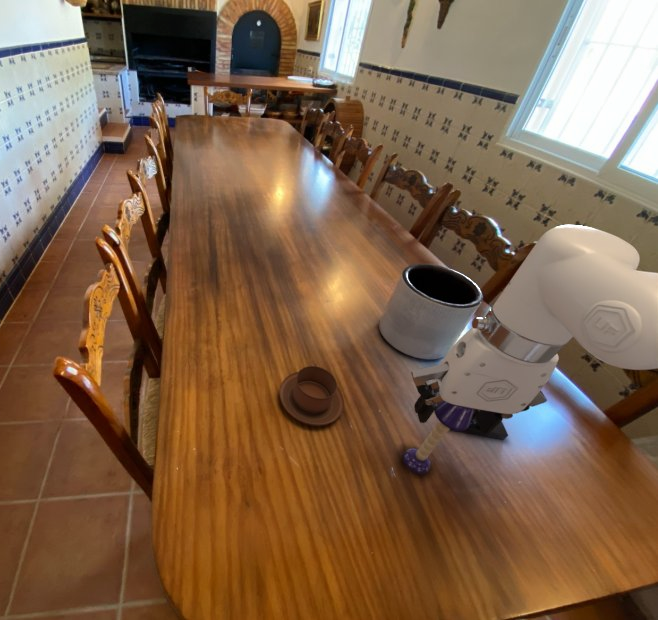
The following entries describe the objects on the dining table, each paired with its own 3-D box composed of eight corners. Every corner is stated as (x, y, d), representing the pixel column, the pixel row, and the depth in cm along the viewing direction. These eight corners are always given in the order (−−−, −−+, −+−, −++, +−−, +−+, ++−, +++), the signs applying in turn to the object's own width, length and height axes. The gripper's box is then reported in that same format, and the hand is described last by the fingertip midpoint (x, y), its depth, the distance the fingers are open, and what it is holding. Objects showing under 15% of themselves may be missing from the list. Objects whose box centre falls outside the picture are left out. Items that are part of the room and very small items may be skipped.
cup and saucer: (272, 378, 71) (277, 357, 67) (330, 376, 73) (337, 355, 69) (285, 432, 62) (291, 412, 58) (350, 428, 64) (361, 408, 60)
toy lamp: (399, 445, 62) (442, 385, 51) (426, 450, 62) (475, 390, 51) (405, 472, 58) (452, 413, 48) (434, 477, 58) (489, 419, 47)
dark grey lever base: (504, 440, 64) (528, 416, 59) (446, 429, 65) (466, 405, 60) (484, 397, 71) (505, 373, 67) (433, 388, 72) (449, 364, 68)
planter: (363, 323, 86) (385, 269, 76) (411, 308, 92) (437, 257, 82) (413, 371, 76) (446, 316, 66) (464, 351, 81) (502, 297, 71)
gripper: (451, 343, 39) (393, 431, 50) (623, 371, 37) (524, 455, 48) (433, 301, 44) (385, 388, 56) (582, 324, 43) (501, 409, 54)
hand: (450, 419), depth 52 cm, fingers open, 8 cm apart
